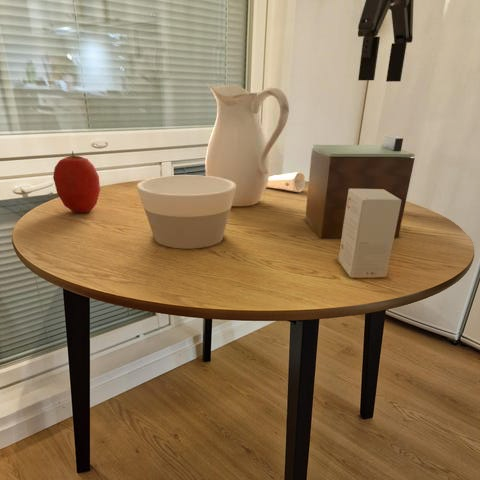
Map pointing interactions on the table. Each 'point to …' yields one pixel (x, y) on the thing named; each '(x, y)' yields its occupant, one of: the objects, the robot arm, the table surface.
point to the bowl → (187, 209)
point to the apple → (77, 183)
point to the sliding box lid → (367, 149)
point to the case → (351, 187)
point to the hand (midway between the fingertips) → (380, 81)
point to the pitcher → (242, 141)
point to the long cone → (287, 182)
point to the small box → (368, 232)
